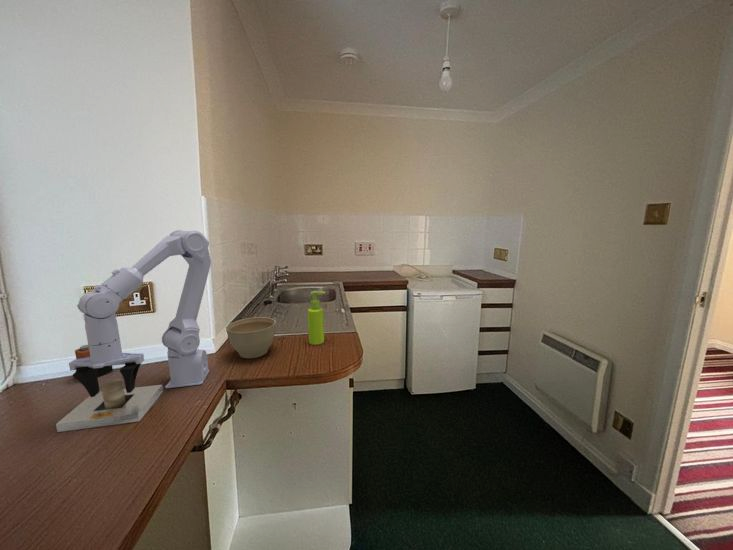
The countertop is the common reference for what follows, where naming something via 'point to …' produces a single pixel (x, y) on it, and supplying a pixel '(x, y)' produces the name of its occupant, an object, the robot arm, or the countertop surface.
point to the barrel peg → (113, 394)
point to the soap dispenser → (316, 320)
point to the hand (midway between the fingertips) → (113, 392)
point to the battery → (85, 353)
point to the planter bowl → (251, 336)
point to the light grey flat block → (110, 410)
